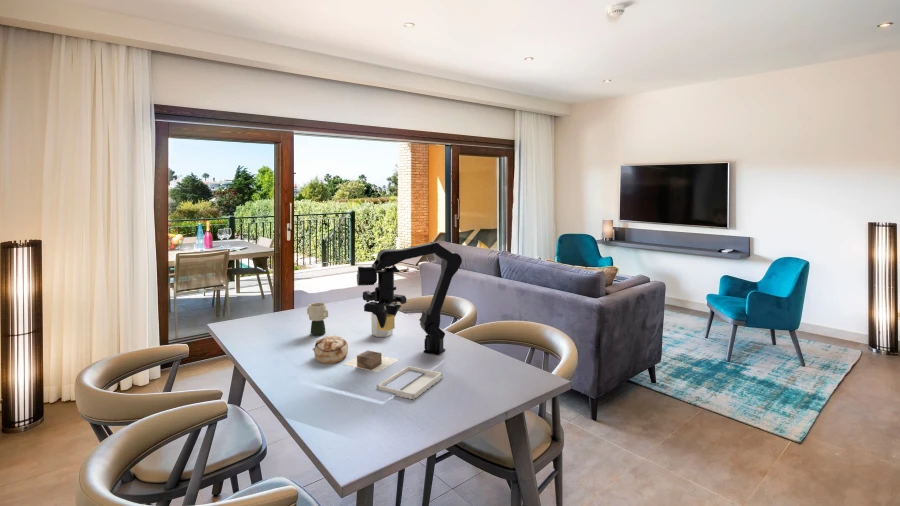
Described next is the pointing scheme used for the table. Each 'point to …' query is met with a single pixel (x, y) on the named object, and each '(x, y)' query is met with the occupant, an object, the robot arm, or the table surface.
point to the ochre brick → (387, 323)
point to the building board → (385, 363)
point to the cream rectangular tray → (413, 383)
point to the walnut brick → (369, 360)
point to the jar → (375, 331)
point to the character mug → (317, 317)
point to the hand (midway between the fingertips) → (386, 326)
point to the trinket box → (330, 349)
